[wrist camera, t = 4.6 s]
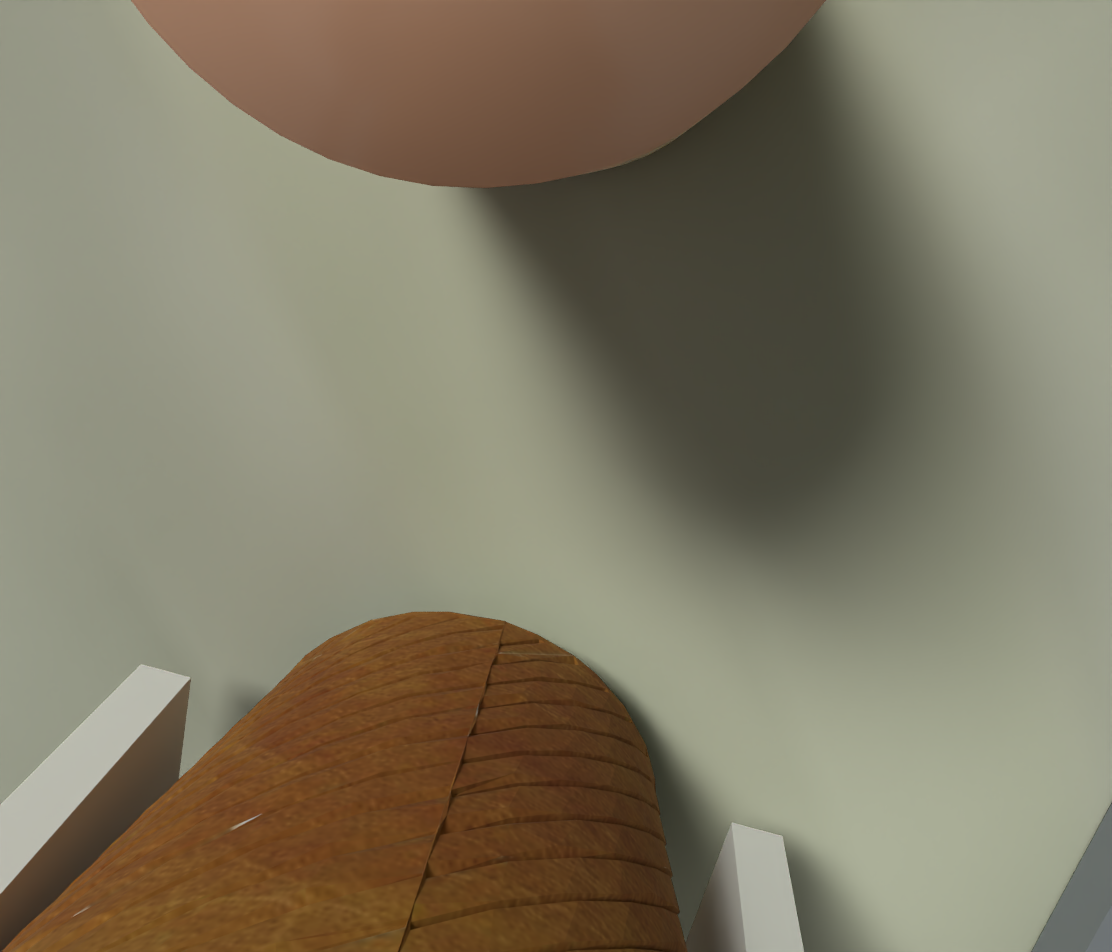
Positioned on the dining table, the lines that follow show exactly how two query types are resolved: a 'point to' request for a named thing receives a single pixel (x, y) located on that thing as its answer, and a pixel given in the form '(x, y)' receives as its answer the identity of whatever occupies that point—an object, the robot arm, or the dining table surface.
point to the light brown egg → (478, 76)
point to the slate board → (1085, 902)
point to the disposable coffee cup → (397, 813)
